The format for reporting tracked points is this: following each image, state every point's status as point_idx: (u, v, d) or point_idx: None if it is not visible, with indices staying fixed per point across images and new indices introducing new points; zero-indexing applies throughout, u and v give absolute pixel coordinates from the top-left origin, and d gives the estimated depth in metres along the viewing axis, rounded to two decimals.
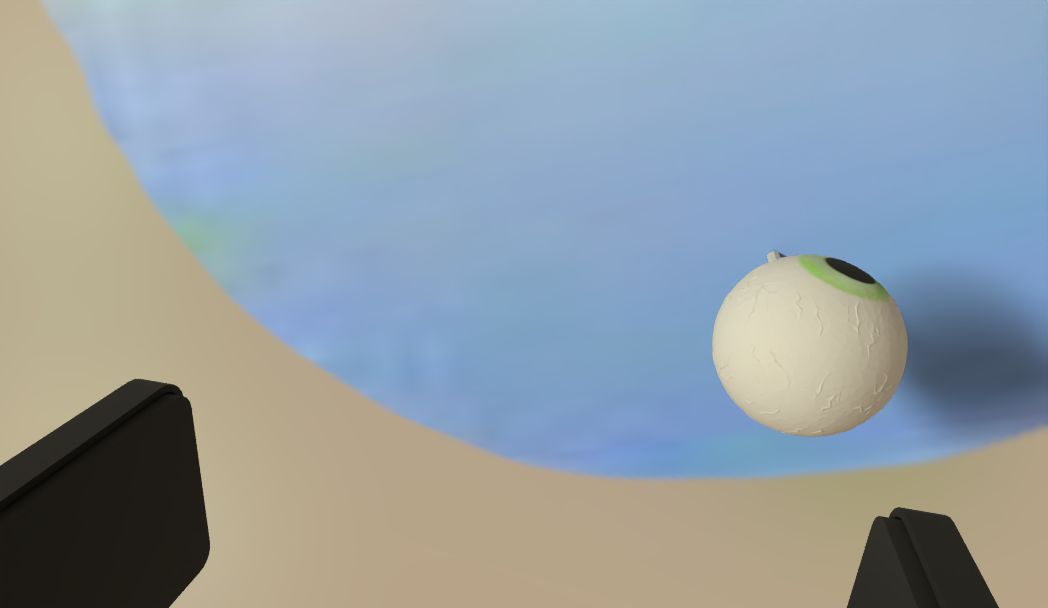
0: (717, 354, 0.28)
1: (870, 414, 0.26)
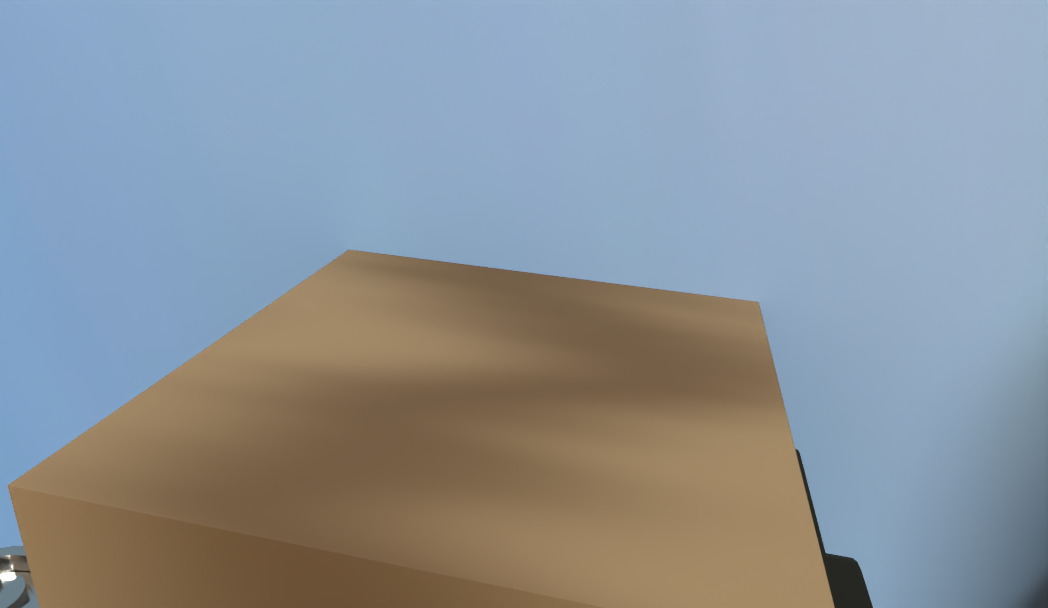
0: None
1: None
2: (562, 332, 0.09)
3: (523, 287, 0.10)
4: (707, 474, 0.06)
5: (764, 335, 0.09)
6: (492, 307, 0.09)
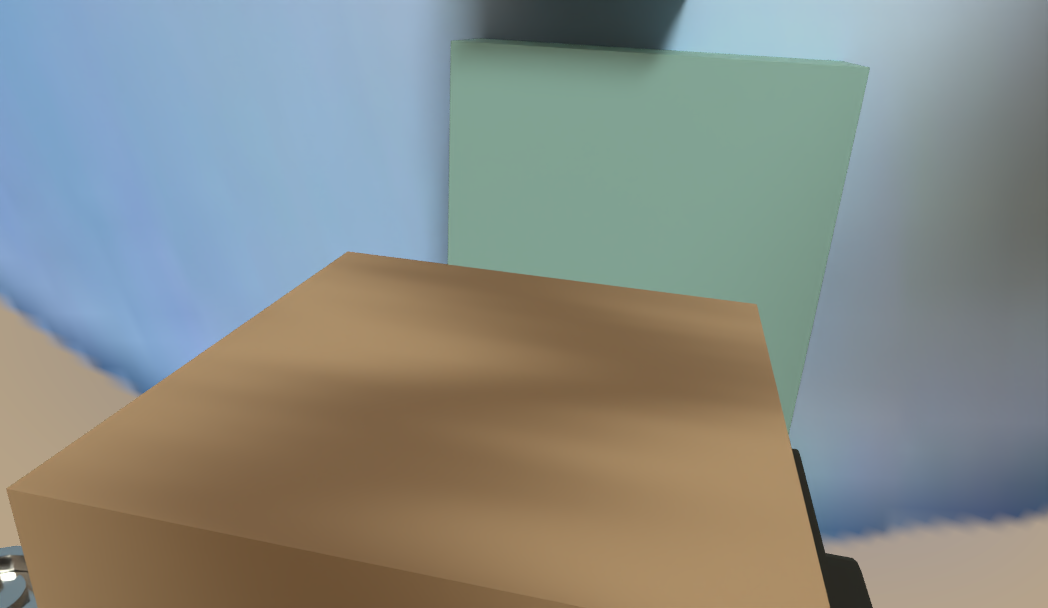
0: None
1: None
2: (560, 335, 0.09)
3: (521, 290, 0.10)
4: (704, 477, 0.06)
5: (762, 337, 0.09)
6: (491, 309, 0.09)
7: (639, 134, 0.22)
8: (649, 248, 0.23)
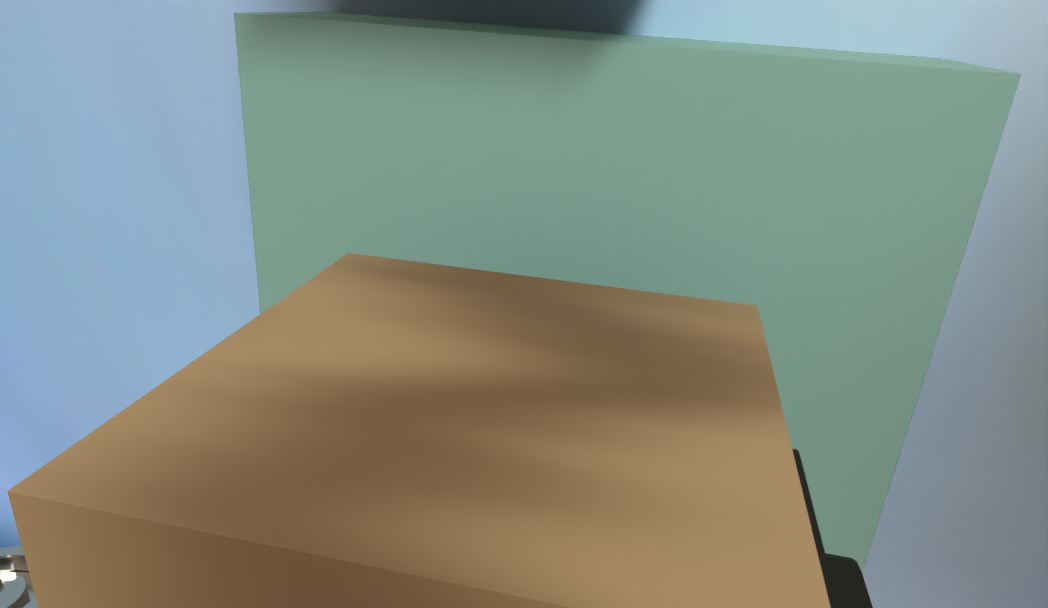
0: None
1: None
2: (560, 336, 0.09)
3: (522, 291, 0.10)
4: (704, 478, 0.06)
5: (763, 339, 0.09)
6: (491, 310, 0.09)
7: (573, 189, 0.12)
8: None
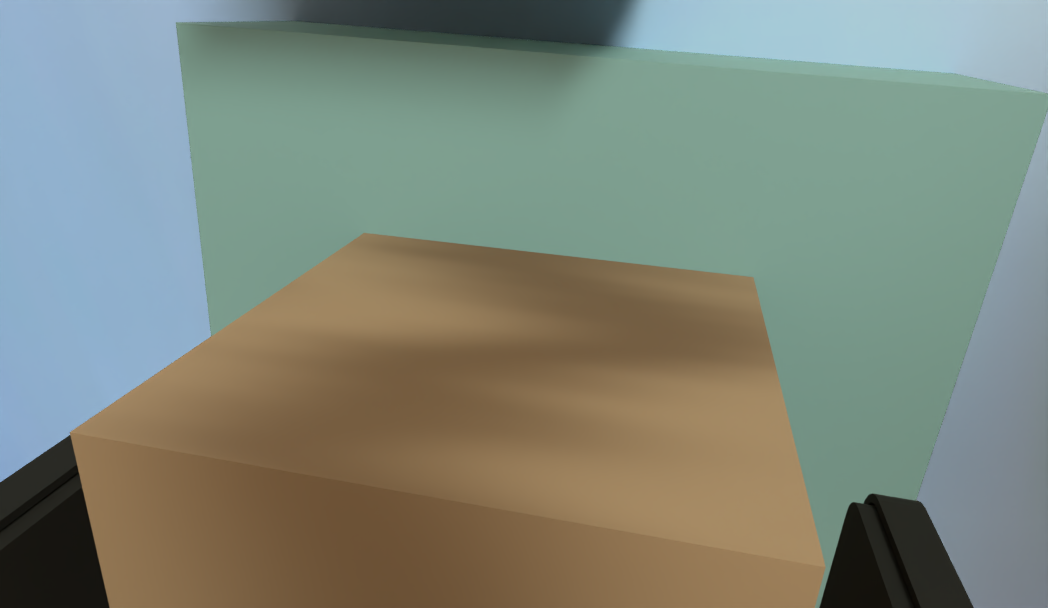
0: None
1: None
2: (568, 304, 0.09)
3: (530, 265, 0.10)
4: (702, 422, 0.07)
5: (758, 306, 0.09)
6: (502, 282, 0.10)
7: (552, 218, 0.11)
8: None
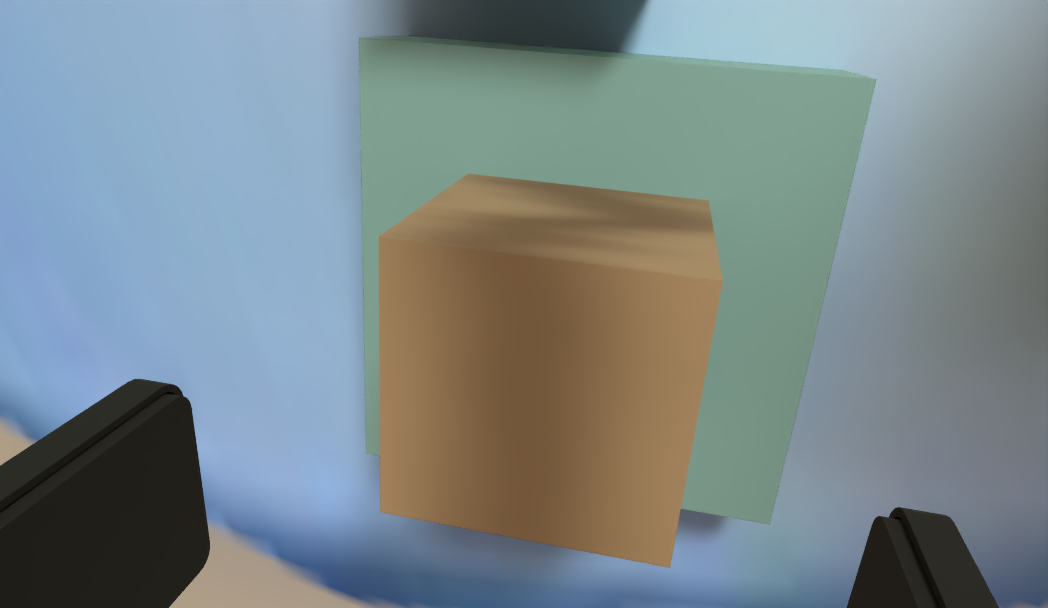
0: None
1: None
2: (601, 206, 0.16)
3: (575, 190, 0.17)
4: (674, 246, 0.14)
5: (709, 211, 0.16)
6: (560, 197, 0.17)
7: (590, 157, 0.18)
8: None
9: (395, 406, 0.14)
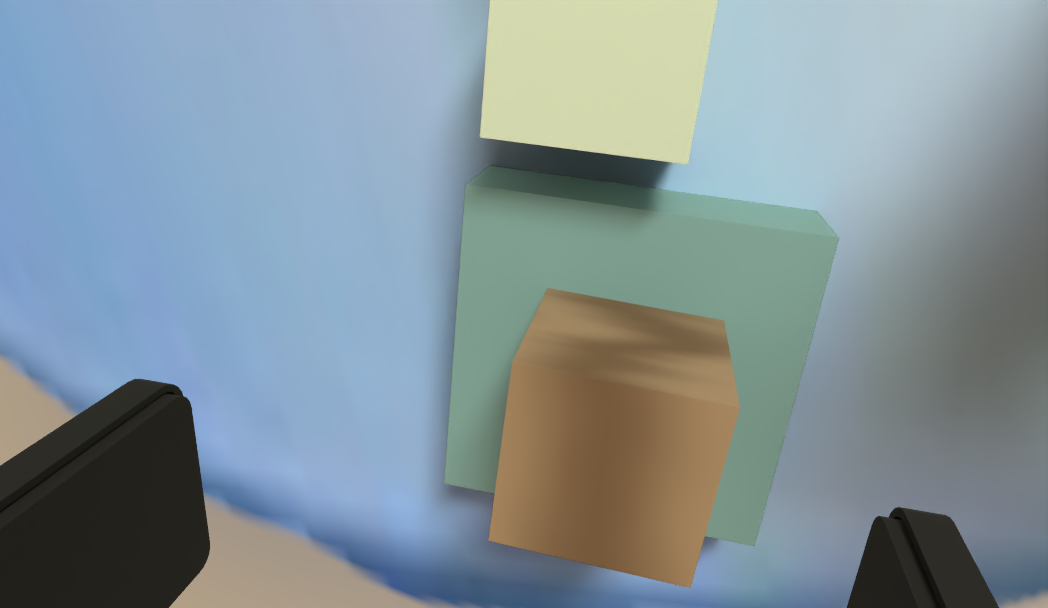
0: None
1: None
2: (649, 328, 0.22)
3: (628, 309, 0.24)
4: (705, 372, 0.20)
5: (725, 333, 0.23)
6: (620, 317, 0.23)
7: (633, 277, 0.24)
8: None
9: (509, 470, 0.20)
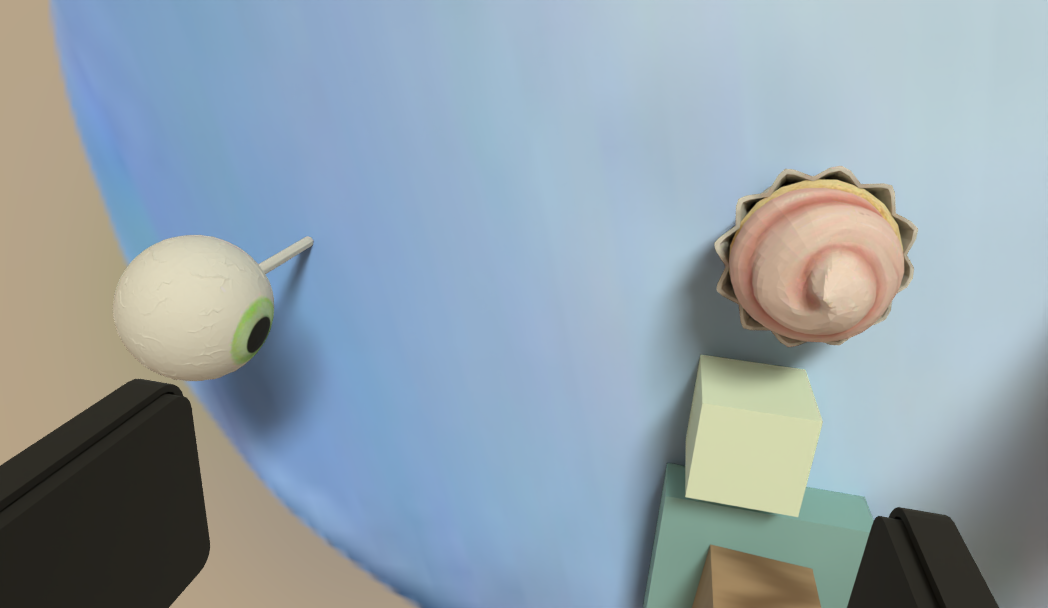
0: (164, 247, 0.33)
1: None
2: (774, 581, 0.41)
3: (758, 562, 0.42)
4: None
5: (815, 582, 0.42)
6: (756, 571, 0.42)
7: (760, 546, 0.43)
8: None
9: None
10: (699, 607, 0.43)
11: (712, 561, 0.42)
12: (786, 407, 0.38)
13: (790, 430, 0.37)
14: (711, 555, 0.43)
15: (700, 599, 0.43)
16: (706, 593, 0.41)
